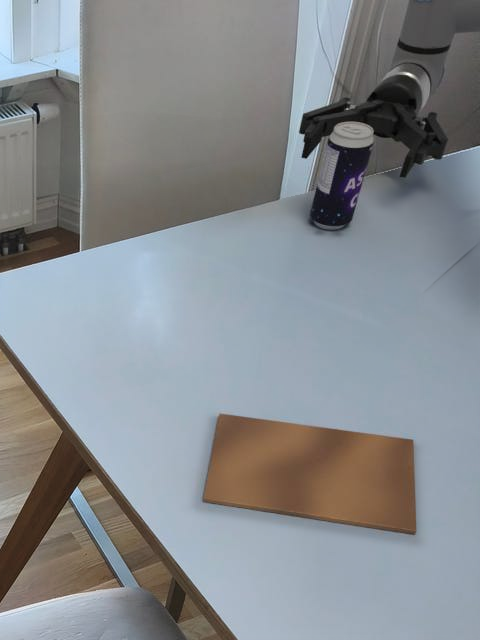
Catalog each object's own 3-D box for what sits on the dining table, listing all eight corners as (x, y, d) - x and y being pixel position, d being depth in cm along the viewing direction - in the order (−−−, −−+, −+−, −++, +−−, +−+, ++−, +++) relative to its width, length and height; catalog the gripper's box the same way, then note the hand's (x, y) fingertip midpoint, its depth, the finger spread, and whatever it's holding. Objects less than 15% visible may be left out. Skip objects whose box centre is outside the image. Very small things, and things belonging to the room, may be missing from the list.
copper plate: (412, 443, 92) (413, 439, 91) (414, 534, 83) (416, 530, 83) (218, 416, 96) (219, 413, 95) (202, 501, 87) (203, 498, 87)
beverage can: (335, 236, 119) (361, 142, 110) (300, 223, 122) (322, 129, 113) (358, 222, 122) (385, 128, 112) (323, 209, 124) (346, 116, 115)
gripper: (473, 144, 130) (439, 204, 119) (308, 115, 138) (261, 168, 127) (494, 87, 124) (460, 145, 113) (320, 60, 133) (272, 111, 121)
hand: (354, 157), depth 120 cm, fingers open, 13 cm apart
